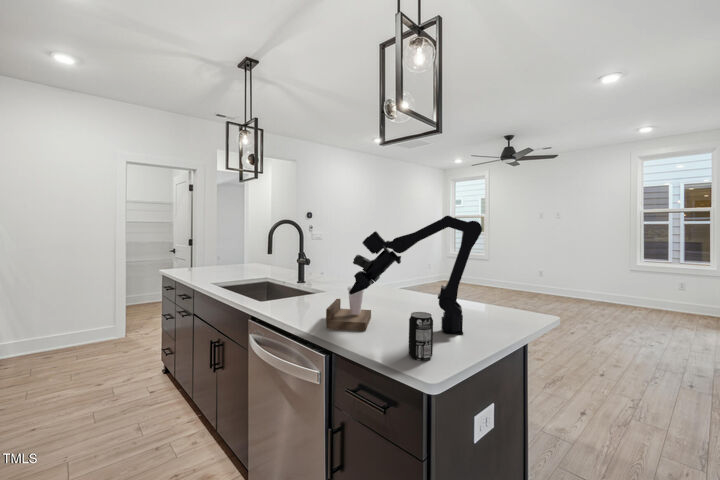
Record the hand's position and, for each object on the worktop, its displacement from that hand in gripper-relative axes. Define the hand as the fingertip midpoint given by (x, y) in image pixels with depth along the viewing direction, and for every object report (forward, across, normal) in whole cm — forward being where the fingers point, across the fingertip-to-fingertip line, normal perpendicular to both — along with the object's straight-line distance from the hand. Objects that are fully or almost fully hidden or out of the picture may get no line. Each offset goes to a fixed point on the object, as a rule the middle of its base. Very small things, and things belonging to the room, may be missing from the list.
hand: (352, 291), depth 125 cm
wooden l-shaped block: (+9, 0, +8) cm, 12 cm away
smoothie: (+5, +1, +7) cm, 8 cm away
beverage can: (-10, +26, +28) cm, 40 cm away
